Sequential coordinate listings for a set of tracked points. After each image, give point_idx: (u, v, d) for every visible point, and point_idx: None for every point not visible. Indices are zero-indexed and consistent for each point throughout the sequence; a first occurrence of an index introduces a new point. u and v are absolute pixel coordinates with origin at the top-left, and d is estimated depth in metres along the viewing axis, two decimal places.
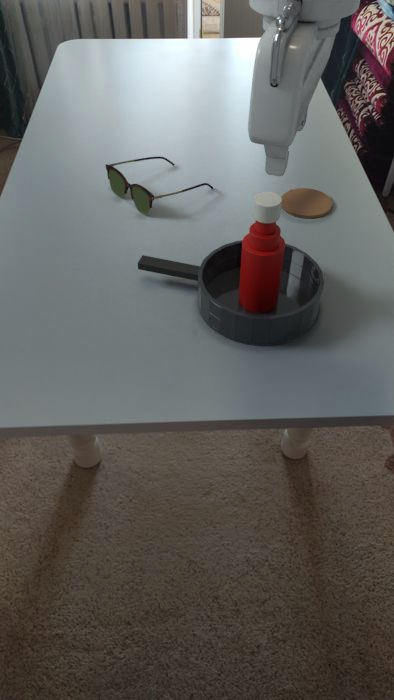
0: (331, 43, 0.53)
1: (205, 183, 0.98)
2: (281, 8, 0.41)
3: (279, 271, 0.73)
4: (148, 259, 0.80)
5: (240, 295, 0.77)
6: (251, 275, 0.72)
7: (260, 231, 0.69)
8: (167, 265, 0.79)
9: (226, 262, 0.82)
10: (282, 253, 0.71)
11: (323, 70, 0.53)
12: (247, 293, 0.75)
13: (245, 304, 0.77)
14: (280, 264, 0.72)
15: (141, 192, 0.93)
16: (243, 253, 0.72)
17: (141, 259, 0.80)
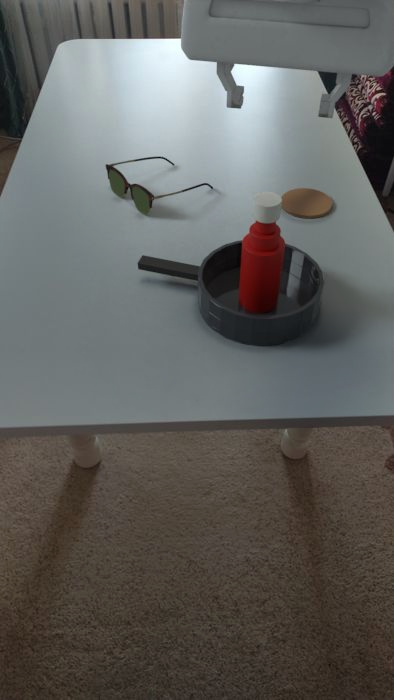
0: (382, 52, 0.49)
1: (205, 183, 0.98)
2: None
3: (279, 271, 0.73)
4: (148, 259, 0.80)
5: (240, 295, 0.77)
6: (251, 275, 0.72)
7: (260, 231, 0.69)
8: (167, 265, 0.79)
9: (226, 262, 0.82)
10: (282, 253, 0.71)
11: (350, 69, 0.51)
12: (247, 293, 0.75)
13: (245, 304, 0.77)
14: (280, 264, 0.72)
15: (141, 192, 0.93)
16: (243, 253, 0.72)
17: (141, 259, 0.80)
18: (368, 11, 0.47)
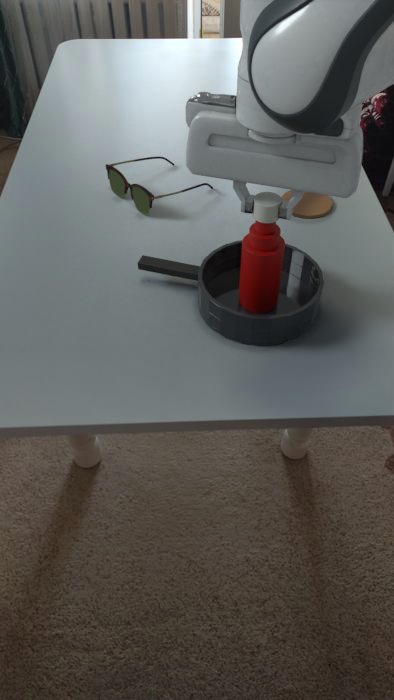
0: (345, 181, 0.60)
1: (205, 183, 0.98)
2: None
3: (279, 271, 0.73)
4: (148, 259, 0.80)
5: (240, 295, 0.77)
6: (251, 275, 0.72)
7: (259, 231, 0.69)
8: (167, 265, 0.79)
9: (226, 262, 0.82)
10: (282, 253, 0.71)
11: (321, 191, 0.62)
12: (247, 293, 0.75)
13: (245, 304, 0.77)
14: (280, 264, 0.72)
15: (141, 192, 0.93)
16: (243, 253, 0.72)
17: (141, 259, 0.80)
18: (334, 151, 0.59)
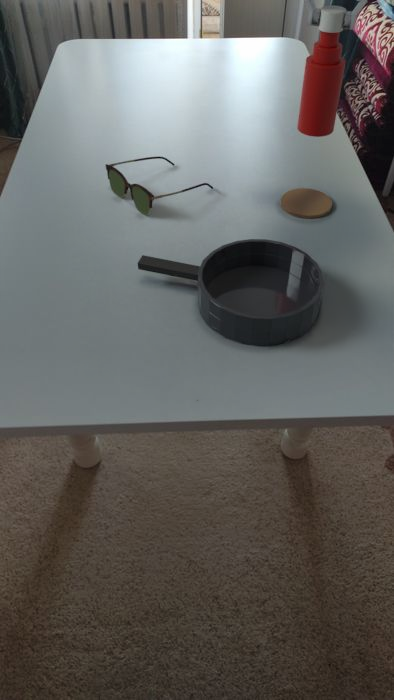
0: None
1: (205, 183, 0.98)
2: None
3: (339, 89, 0.80)
4: (148, 259, 0.80)
5: (300, 121, 0.84)
6: (313, 92, 0.79)
7: (324, 44, 0.76)
8: (167, 265, 0.79)
9: (226, 262, 0.82)
10: (343, 68, 0.78)
11: None
12: (308, 114, 0.82)
13: (305, 128, 0.84)
14: (340, 81, 0.79)
15: (141, 192, 0.93)
16: (307, 70, 0.78)
17: (141, 259, 0.80)
18: None
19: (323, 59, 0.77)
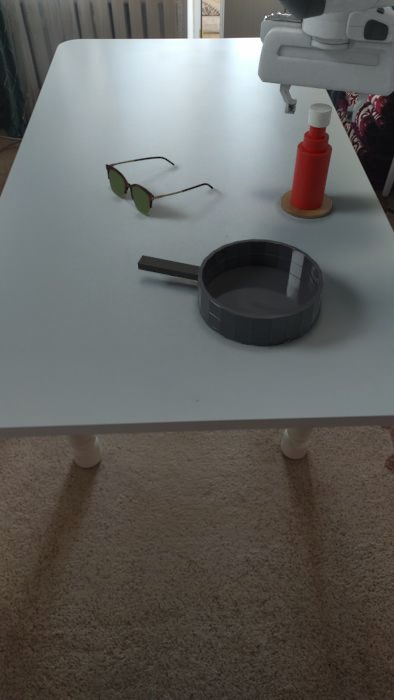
0: (387, 81, 0.77)
1: (205, 183, 0.98)
2: None
3: (326, 172, 0.91)
4: (148, 259, 0.80)
5: (292, 196, 0.95)
6: (304, 174, 0.90)
7: (313, 135, 0.87)
8: (167, 265, 0.79)
9: (226, 262, 0.82)
10: (330, 155, 0.89)
11: (366, 90, 0.79)
12: (299, 192, 0.93)
13: (297, 203, 0.94)
14: (327, 165, 0.90)
15: (141, 192, 0.93)
16: (298, 156, 0.89)
17: (141, 259, 0.80)
18: (379, 55, 0.76)
19: (312, 148, 0.87)
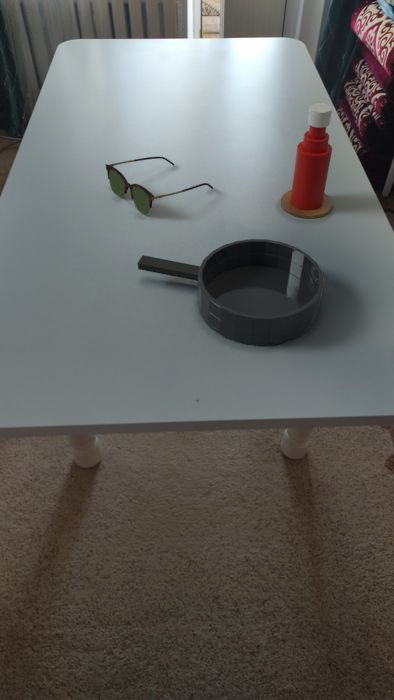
0: None
1: (205, 183, 0.98)
2: None
3: (326, 172, 0.91)
4: (148, 259, 0.80)
5: (292, 196, 0.95)
6: (304, 174, 0.90)
7: (313, 135, 0.87)
8: (167, 265, 0.79)
9: (226, 262, 0.82)
10: (330, 155, 0.89)
11: None
12: (299, 192, 0.93)
13: (297, 203, 0.94)
14: (327, 165, 0.90)
15: (141, 192, 0.93)
16: (298, 156, 0.89)
17: (141, 259, 0.80)
18: None
19: (312, 148, 0.87)
